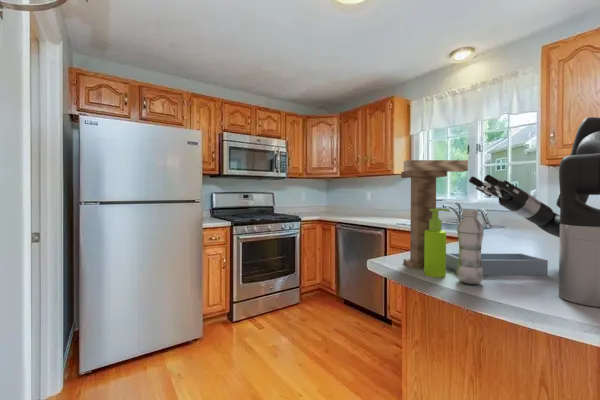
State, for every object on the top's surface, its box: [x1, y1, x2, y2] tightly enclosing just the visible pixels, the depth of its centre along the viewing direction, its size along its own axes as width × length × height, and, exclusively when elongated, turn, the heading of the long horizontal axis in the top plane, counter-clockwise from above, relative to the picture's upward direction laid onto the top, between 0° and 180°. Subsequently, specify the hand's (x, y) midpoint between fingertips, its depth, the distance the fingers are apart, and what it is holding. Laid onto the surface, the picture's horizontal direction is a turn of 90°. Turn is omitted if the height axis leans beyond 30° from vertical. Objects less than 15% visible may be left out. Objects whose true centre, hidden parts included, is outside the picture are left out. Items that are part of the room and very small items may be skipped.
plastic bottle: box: [455, 209, 485, 285], centre depth 80 cm, size 6×7×20 cm
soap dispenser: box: [423, 207, 451, 278], centre depth 89 cm, size 6×7×20 cm
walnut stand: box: [400, 170, 448, 270], centre depth 99 cm, size 12×8×32 cm, turn 90°
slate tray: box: [446, 252, 549, 276], centre depth 94 cm, size 26×11×4 cm, turn 90°
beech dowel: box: [403, 159, 469, 173], centre depth 99 cm, size 20×4×4 cm, turn 90°
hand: (477, 177), depth 99 cm, fingers open, 8 cm apart
